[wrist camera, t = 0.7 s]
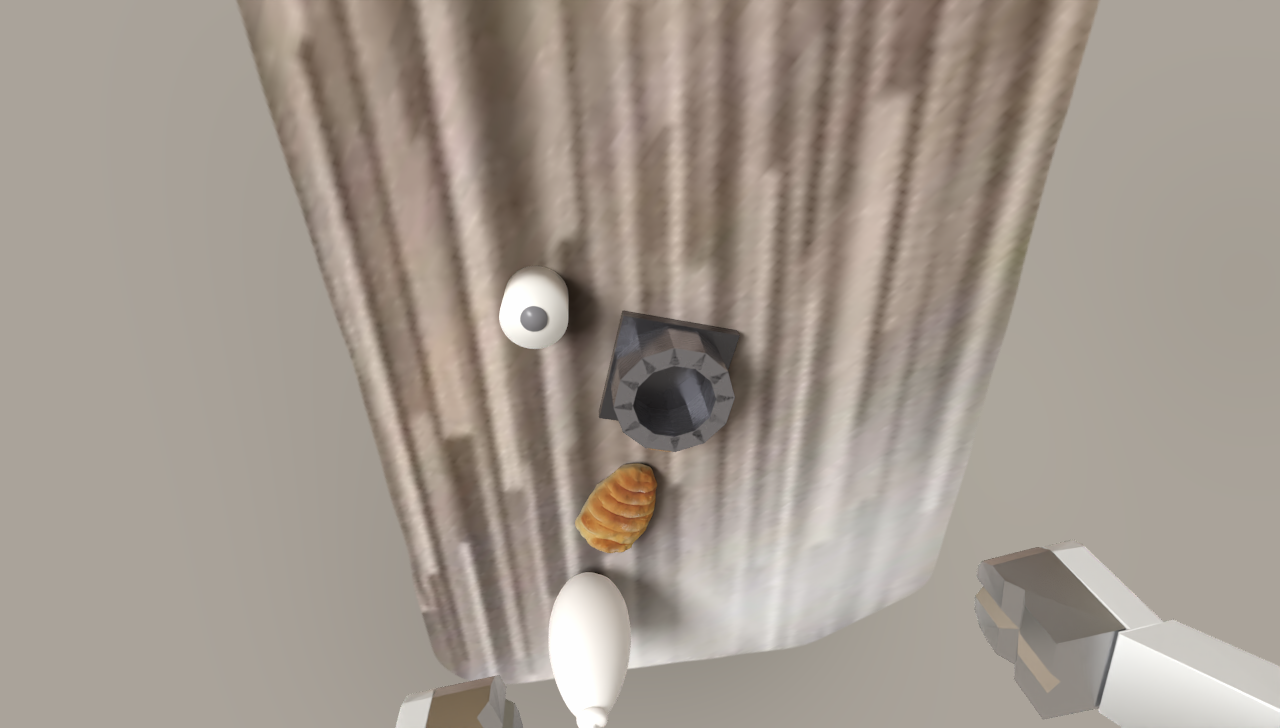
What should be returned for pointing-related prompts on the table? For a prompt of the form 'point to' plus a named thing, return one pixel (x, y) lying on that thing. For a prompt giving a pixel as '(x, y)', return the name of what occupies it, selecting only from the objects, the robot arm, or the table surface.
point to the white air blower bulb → (589, 646)
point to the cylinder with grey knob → (535, 307)
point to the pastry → (619, 508)
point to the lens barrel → (669, 381)
